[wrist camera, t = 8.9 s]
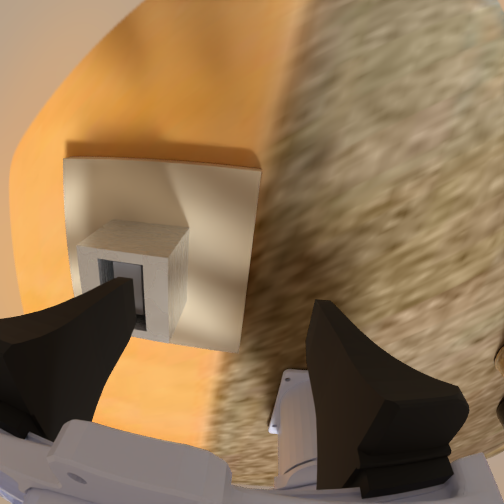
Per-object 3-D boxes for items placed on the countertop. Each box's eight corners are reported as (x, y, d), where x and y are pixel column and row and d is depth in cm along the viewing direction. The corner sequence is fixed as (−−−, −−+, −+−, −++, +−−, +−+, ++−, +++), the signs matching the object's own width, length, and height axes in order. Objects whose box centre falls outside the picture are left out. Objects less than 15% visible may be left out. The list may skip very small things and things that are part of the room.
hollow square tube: (187, 301, 23) (169, 343, 18) (116, 289, 23) (87, 326, 18) (189, 227, 21) (167, 258, 16) (112, 219, 21) (76, 245, 16)
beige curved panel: (239, 344, 26) (234, 389, 21) (85, 316, 26) (58, 351, 21) (261, 168, 20) (260, 183, 15) (71, 156, 20) (28, 168, 15)
